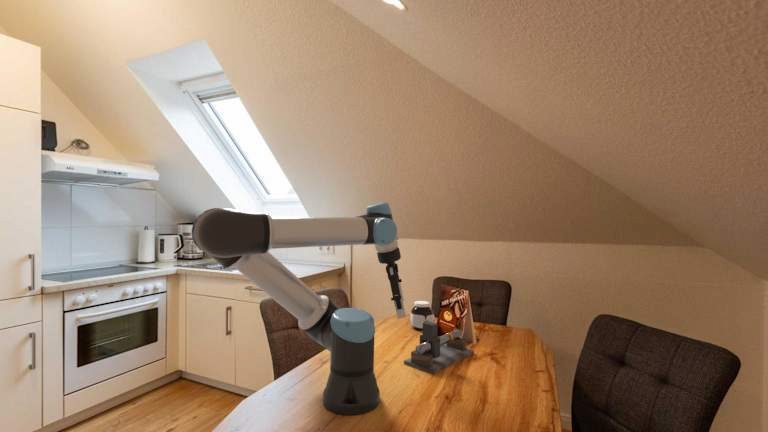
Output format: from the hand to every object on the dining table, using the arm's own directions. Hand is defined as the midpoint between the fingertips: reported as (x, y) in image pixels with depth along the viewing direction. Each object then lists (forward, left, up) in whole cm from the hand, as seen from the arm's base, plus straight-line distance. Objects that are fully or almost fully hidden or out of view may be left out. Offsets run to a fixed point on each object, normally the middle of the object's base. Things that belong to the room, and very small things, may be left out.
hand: (401, 308), depth 124 cm
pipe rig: (+14, -7, -19) cm, 24 cm away
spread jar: (+41, +20, -19) cm, 49 cm away
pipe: (+14, -7, -14) cm, 21 cm away
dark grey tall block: (+8, -7, -16) cm, 19 cm away
